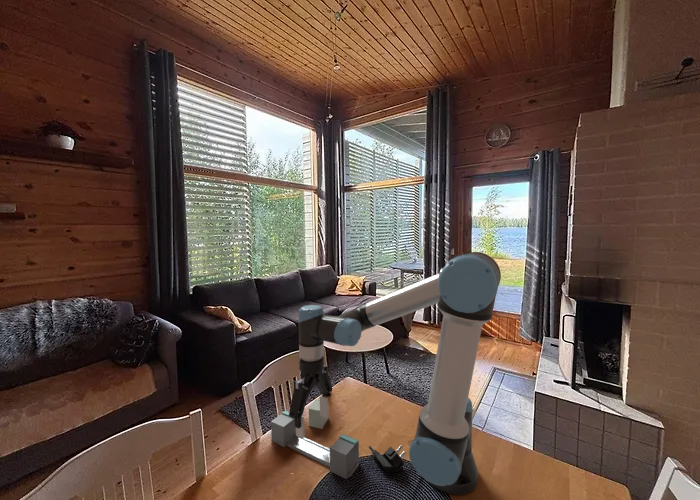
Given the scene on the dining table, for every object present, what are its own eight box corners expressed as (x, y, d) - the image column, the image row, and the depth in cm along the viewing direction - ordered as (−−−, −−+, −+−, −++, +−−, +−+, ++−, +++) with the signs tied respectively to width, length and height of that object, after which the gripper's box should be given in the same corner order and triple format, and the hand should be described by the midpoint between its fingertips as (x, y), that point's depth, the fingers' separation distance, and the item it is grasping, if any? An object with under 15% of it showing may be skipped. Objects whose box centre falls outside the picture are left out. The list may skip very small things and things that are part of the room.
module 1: (298, 435, 103) (298, 414, 102) (283, 448, 97) (283, 425, 96) (286, 429, 106) (286, 409, 105) (271, 441, 100) (271, 420, 99)
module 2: (328, 420, 111) (328, 401, 111) (322, 430, 105) (321, 411, 105) (315, 417, 112) (315, 399, 112) (309, 427, 107) (308, 408, 106)
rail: (358, 465, 89) (358, 461, 89) (349, 477, 85) (349, 473, 85) (283, 431, 105) (283, 427, 105) (272, 439, 101) (272, 435, 101)
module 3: (358, 462, 90) (358, 438, 90) (346, 479, 84) (345, 453, 84) (343, 455, 93) (343, 432, 93) (330, 471, 87) (329, 446, 87)
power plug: (364, 442, 94) (387, 468, 83) (382, 424, 97) (406, 447, 86) (371, 455, 95) (394, 482, 85) (388, 437, 98) (413, 461, 88)
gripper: (324, 342, 105) (325, 403, 106) (274, 368, 85) (276, 443, 87) (342, 346, 101) (343, 410, 102) (294, 374, 81) (296, 453, 83)
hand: (312, 425), depth 94 cm, fingers open, 11 cm apart
